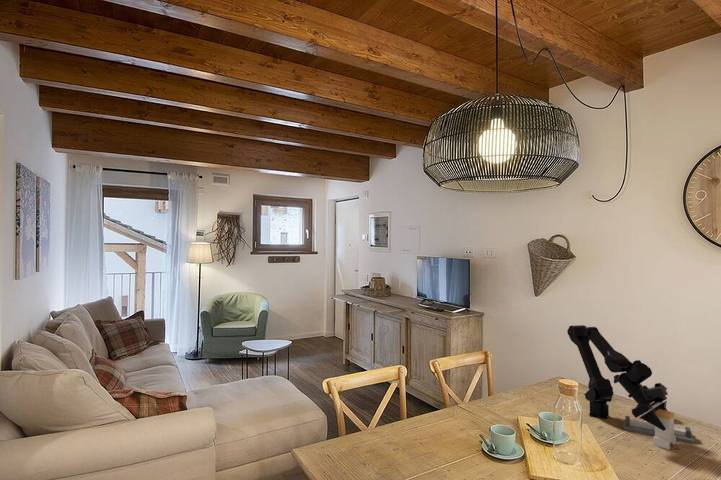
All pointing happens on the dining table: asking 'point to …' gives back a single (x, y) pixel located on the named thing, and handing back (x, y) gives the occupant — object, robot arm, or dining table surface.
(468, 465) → the dining table surface
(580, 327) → the robot arm
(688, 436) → the board
